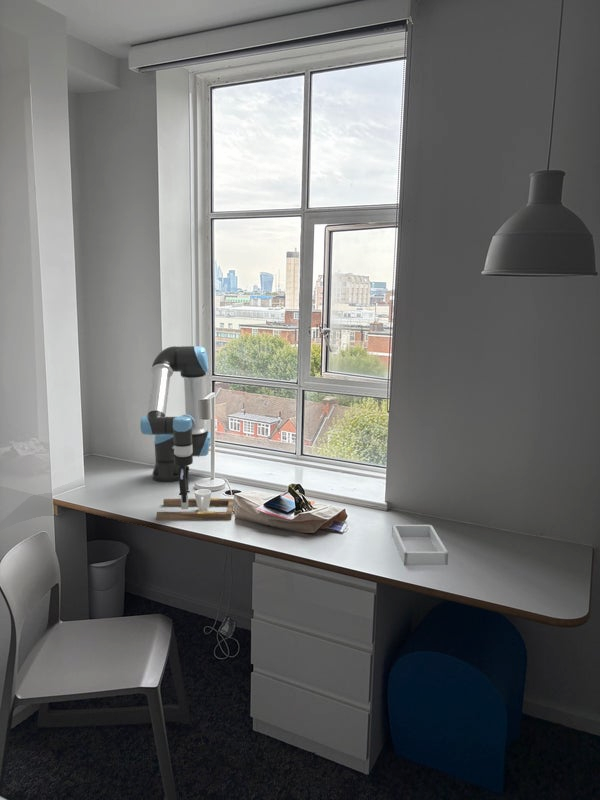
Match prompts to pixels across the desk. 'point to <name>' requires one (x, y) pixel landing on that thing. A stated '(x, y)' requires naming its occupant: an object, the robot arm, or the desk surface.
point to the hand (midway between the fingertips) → (184, 508)
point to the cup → (203, 499)
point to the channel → (200, 514)
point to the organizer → (419, 557)
